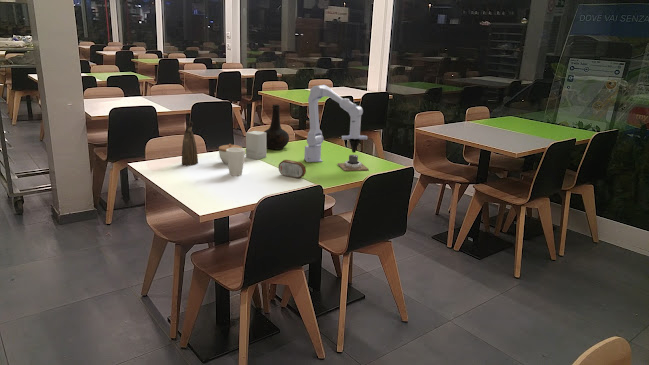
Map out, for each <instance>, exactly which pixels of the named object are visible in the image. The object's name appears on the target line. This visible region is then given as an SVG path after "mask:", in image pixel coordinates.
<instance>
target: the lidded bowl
mask: <svg viewBox="0 0 649 365" xmlns="http://www.w3.org/2000/svg"><path fill="white" fill-rule="evenodd" d="M228 148H243V147H242V146H241V145H237V144H232V143H229V144H223V145H220V146H219V147H218V153H219V154H218V155H219V158H220V160H221V161H222V162H223V164H224V165H228V160H227V155H226V149H228Z"/></svg>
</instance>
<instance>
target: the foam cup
mask: <svg viewBox="0 0 649 365" xmlns="http://www.w3.org/2000/svg"><path fill="white" fill-rule="evenodd" d="M226 155H227V160H228V164H227V165H228V172H229V175H230V176H233V177H238V176H242V175H243V169H244V160H245V156H246V148H243V147H242V148H228V149H226Z"/></svg>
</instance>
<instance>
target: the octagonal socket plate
mask: <svg viewBox="0 0 649 365" xmlns="http://www.w3.org/2000/svg"><path fill="white" fill-rule="evenodd" d="M337 166H338V167H339V168H341V170H343V171H344V172H358V171H359V172H361V171H369V170H370V169H369V168H368V167H367V166H366V165H365V164H364V163H362V162H361V161H359V160H358V163H357V164H350V163H349V159H348V160H345V161H344V162H340V163H339V162H338V163H337Z"/></svg>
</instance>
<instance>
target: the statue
mask: <svg viewBox="0 0 649 365" xmlns="http://www.w3.org/2000/svg"><path fill="white" fill-rule="evenodd" d="M185 125H186V128H185V131H184V134H183V138H182V139H183V140H182V147H181V149H182V150H181V165H182V166H184V165H189V166H195V165H197V164H199V156H198V149H197V143H196V142H197V141H196V139H195V138H196V137H195V135H194V132H193V130H192V129H193V125H194V122H193V121H191V119H188V121H186V122H185ZM194 164H195V165H194Z"/></svg>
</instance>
